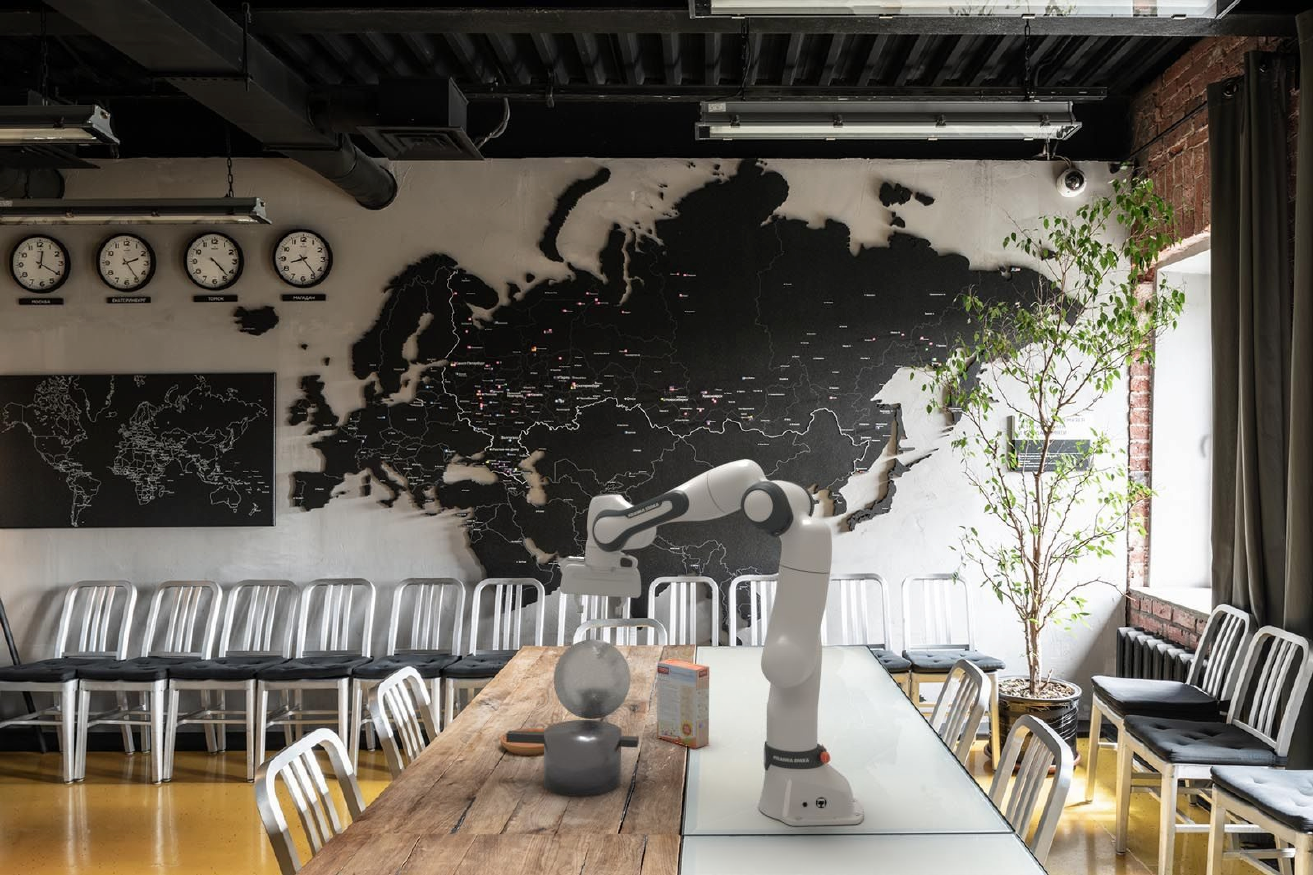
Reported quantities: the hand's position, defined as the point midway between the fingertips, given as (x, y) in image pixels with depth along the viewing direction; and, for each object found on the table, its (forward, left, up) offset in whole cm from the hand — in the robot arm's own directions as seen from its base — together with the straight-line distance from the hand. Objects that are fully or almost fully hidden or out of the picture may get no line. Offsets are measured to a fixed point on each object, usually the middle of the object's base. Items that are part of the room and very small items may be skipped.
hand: (599, 613), depth 232 cm
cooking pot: (+4, +14, -37) cm, 40 cm away
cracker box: (-20, -20, -37) cm, 47 cm away
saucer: (+19, -10, -38) cm, 43 cm away
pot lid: (+1, +3, -16) cm, 16 cm away
